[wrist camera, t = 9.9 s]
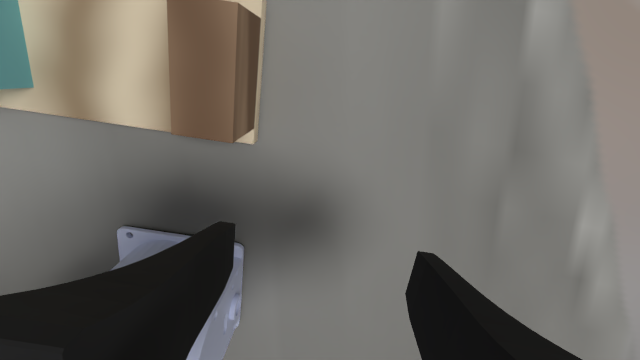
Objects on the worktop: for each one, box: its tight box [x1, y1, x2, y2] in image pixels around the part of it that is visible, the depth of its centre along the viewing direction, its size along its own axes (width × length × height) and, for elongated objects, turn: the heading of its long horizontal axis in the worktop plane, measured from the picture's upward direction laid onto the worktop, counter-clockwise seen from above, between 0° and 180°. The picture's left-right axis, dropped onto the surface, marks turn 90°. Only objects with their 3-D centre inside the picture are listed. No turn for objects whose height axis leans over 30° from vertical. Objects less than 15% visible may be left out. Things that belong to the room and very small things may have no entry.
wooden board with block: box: [0, 0, 267, 144], centre depth 16 cm, size 20×8×5 cm, turn 82°
